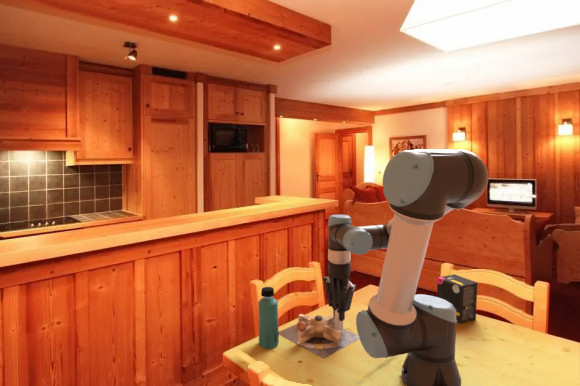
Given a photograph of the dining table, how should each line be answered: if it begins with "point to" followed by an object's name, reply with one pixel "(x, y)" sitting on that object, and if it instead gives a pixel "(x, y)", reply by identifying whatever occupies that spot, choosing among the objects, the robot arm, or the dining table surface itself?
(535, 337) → the dining table surface
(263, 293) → the beverage bottle
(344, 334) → the stand
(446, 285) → the tampon box
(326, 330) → the capstan
